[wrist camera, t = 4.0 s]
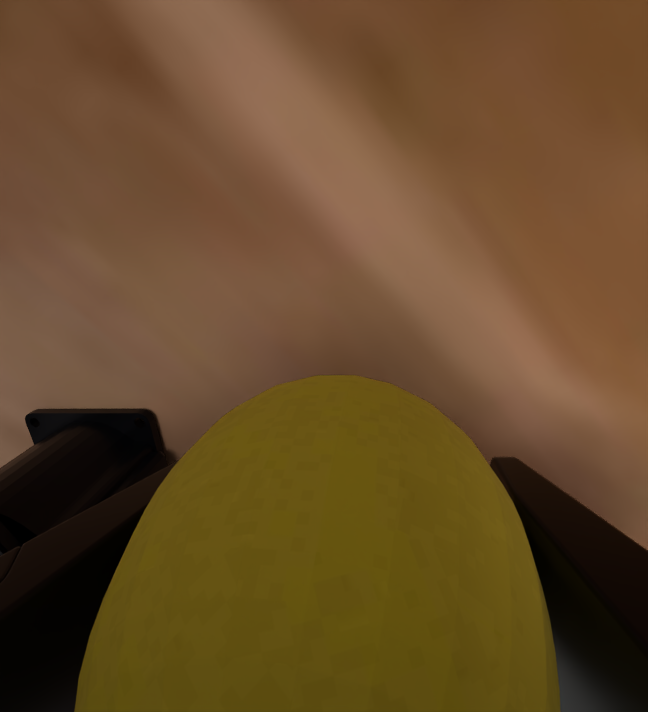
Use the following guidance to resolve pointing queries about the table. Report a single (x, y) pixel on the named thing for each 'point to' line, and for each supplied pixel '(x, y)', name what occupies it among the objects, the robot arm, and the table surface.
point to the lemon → (326, 570)
